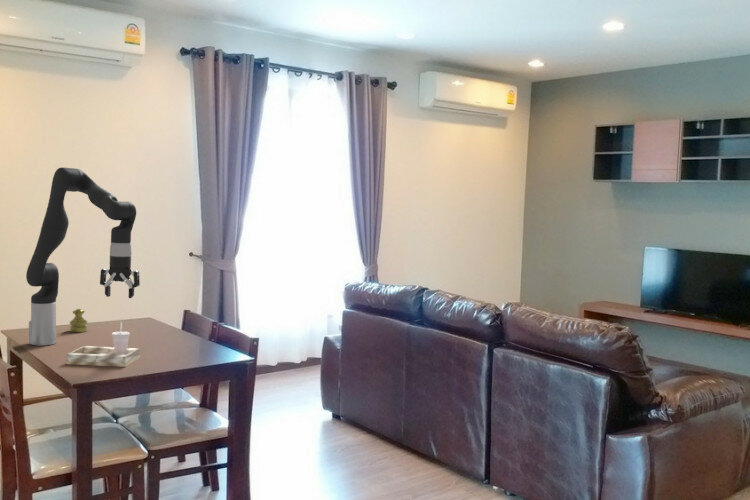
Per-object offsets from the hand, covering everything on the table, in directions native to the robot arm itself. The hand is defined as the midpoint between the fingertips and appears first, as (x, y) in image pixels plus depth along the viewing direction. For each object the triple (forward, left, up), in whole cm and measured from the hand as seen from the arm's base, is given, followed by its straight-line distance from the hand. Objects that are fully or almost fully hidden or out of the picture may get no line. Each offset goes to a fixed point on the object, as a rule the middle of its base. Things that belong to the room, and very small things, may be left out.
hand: (119, 297), depth 254 cm
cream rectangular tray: (-5, -2, -24) cm, 25 cm away
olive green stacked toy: (-38, +48, -24) cm, 65 cm away
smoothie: (+2, -2, -23) cm, 23 cm away
